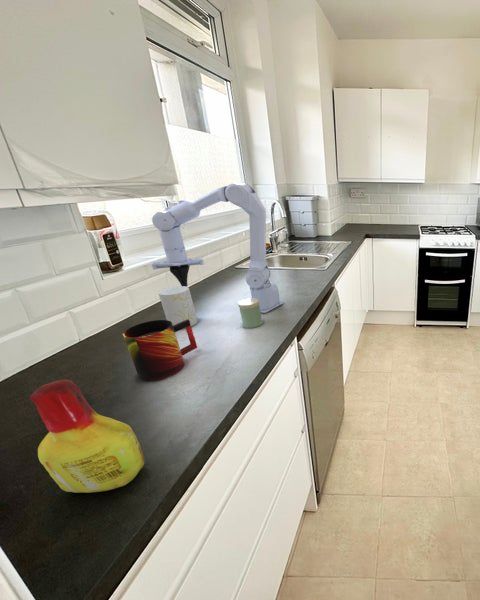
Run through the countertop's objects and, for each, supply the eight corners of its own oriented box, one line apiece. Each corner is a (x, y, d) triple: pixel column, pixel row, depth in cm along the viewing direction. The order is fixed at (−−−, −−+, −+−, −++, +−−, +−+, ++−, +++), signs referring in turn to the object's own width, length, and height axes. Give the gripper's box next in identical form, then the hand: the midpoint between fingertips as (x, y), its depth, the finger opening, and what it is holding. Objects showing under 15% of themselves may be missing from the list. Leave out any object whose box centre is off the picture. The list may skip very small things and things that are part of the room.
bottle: (47, 507, 47) (-20, 402, 40) (79, 470, 53) (26, 373, 46) (135, 494, 49) (88, 391, 42) (157, 460, 55) (118, 364, 48)
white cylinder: (183, 330, 100) (173, 295, 96) (162, 328, 102) (151, 293, 97) (203, 319, 108) (194, 287, 103) (183, 317, 109) (174, 285, 105)
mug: (199, 350, 89) (188, 312, 85) (171, 379, 76) (157, 337, 72) (163, 352, 88) (150, 313, 84) (129, 382, 76) (112, 339, 71)
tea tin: (252, 318, 109) (248, 296, 106) (267, 321, 107) (263, 299, 104) (238, 326, 103) (233, 303, 100) (253, 329, 101) (248, 306, 98)
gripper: (144, 252, 98) (157, 293, 103) (198, 248, 104) (207, 287, 109) (150, 248, 104) (162, 286, 109) (200, 244, 110) (209, 281, 115)
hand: (184, 286), depth 110 cm, fingers closed
